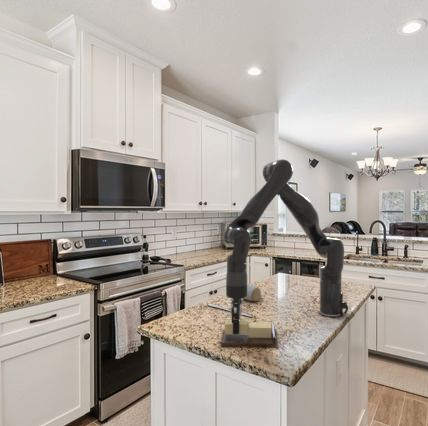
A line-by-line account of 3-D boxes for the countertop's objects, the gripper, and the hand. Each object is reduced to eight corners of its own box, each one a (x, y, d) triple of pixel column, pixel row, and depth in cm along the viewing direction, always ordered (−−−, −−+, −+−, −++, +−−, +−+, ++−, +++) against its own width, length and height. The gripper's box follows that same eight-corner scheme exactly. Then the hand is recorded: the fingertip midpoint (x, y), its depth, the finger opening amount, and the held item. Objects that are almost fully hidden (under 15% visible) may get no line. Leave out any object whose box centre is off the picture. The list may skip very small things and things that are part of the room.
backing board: (273, 330, 114) (273, 321, 114) (275, 347, 100) (275, 337, 100) (226, 330, 114) (226, 321, 114) (221, 346, 100) (221, 337, 100)
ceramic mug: (252, 303, 147) (252, 287, 147) (240, 300, 152) (240, 285, 152) (265, 299, 155) (266, 284, 155) (253, 296, 160) (253, 281, 160)
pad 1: (248, 328, 110) (248, 319, 110) (247, 334, 105) (247, 324, 105) (226, 328, 110) (226, 319, 110) (224, 334, 105) (224, 324, 105)
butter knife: (210, 302, 146) (206, 303, 144) (254, 315, 129) (250, 317, 127) (210, 303, 146) (206, 305, 143) (254, 316, 129) (250, 318, 127)
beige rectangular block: (271, 332, 110) (271, 322, 110) (271, 337, 105) (271, 327, 105) (249, 331, 110) (249, 322, 110) (248, 337, 105) (248, 327, 105)
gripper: (246, 288, 100) (246, 339, 100) (248, 278, 114) (248, 323, 114) (223, 288, 100) (223, 339, 100) (228, 278, 114) (228, 322, 115)
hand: (236, 330), depth 107 cm, fingers closed on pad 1, 5 cm apart
